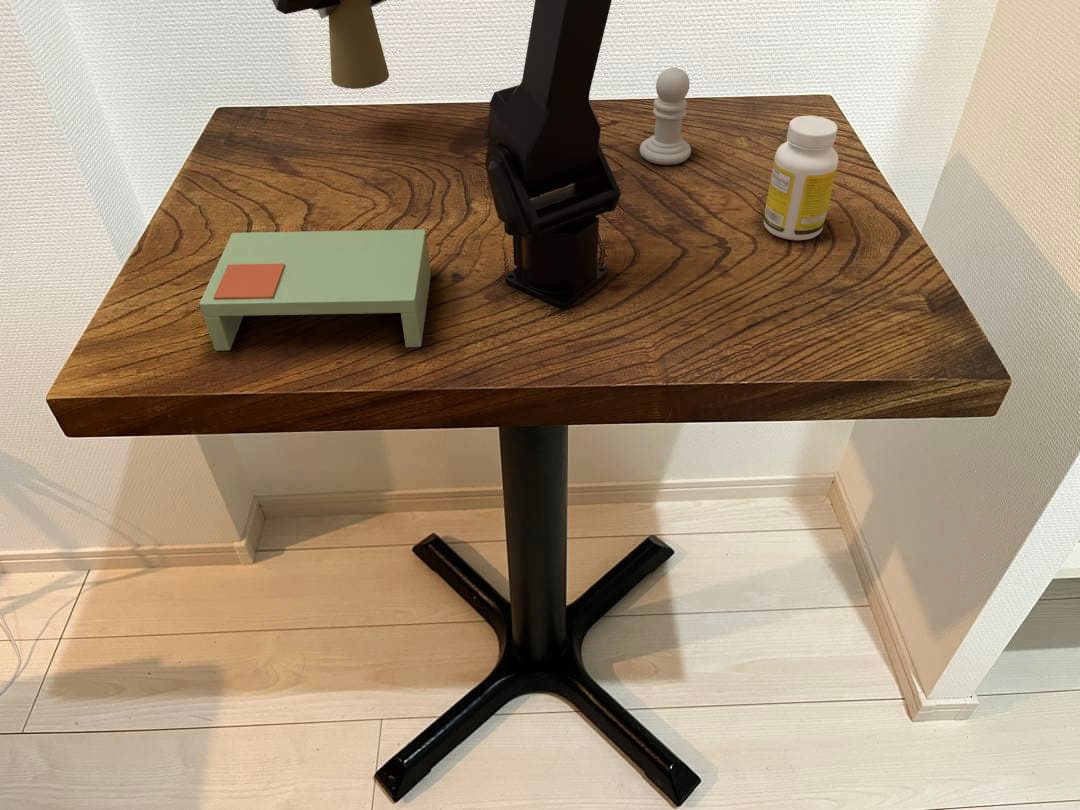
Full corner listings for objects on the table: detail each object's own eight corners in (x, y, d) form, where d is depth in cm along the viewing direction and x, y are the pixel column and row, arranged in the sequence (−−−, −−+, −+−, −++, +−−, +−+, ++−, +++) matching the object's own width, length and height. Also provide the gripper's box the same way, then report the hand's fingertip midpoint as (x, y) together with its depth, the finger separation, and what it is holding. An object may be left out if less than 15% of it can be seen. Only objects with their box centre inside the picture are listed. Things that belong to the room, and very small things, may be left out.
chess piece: (696, 148, 91) (707, 63, 85) (681, 170, 87) (691, 83, 81) (649, 139, 93) (656, 55, 87) (631, 160, 89) (637, 74, 83)
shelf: (421, 347, 67) (414, 297, 64) (214, 351, 67) (197, 301, 64) (430, 274, 74) (425, 226, 71) (245, 277, 74) (231, 230, 71)
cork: (384, 88, 88) (368, -27, 81) (326, 89, 89) (304, -27, 81) (393, 66, 93) (378, -45, 86) (337, 66, 93) (318, -45, 86)
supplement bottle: (827, 219, 80) (852, 118, 74) (815, 247, 77) (840, 144, 70) (770, 207, 82) (789, 107, 75) (755, 234, 78) (774, 132, 72)
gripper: (434, -195, 77) (392, -81, 91) (231, -171, 69) (220, -50, 83) (487, -79, 77) (437, 17, 91) (291, -41, 69) (270, 57, 83)
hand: (344, 8), depth 87 cm, fingers closed on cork, 5 cm apart
